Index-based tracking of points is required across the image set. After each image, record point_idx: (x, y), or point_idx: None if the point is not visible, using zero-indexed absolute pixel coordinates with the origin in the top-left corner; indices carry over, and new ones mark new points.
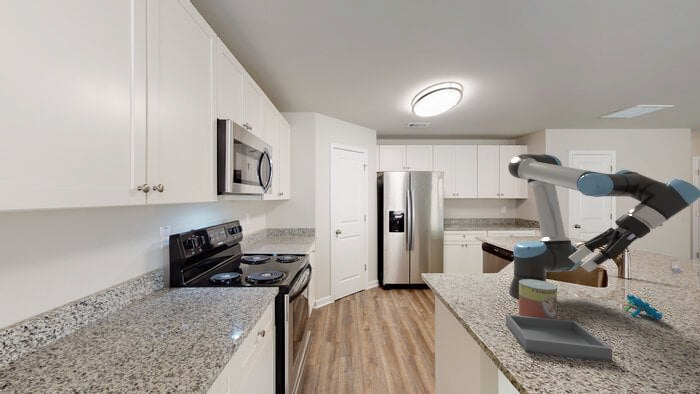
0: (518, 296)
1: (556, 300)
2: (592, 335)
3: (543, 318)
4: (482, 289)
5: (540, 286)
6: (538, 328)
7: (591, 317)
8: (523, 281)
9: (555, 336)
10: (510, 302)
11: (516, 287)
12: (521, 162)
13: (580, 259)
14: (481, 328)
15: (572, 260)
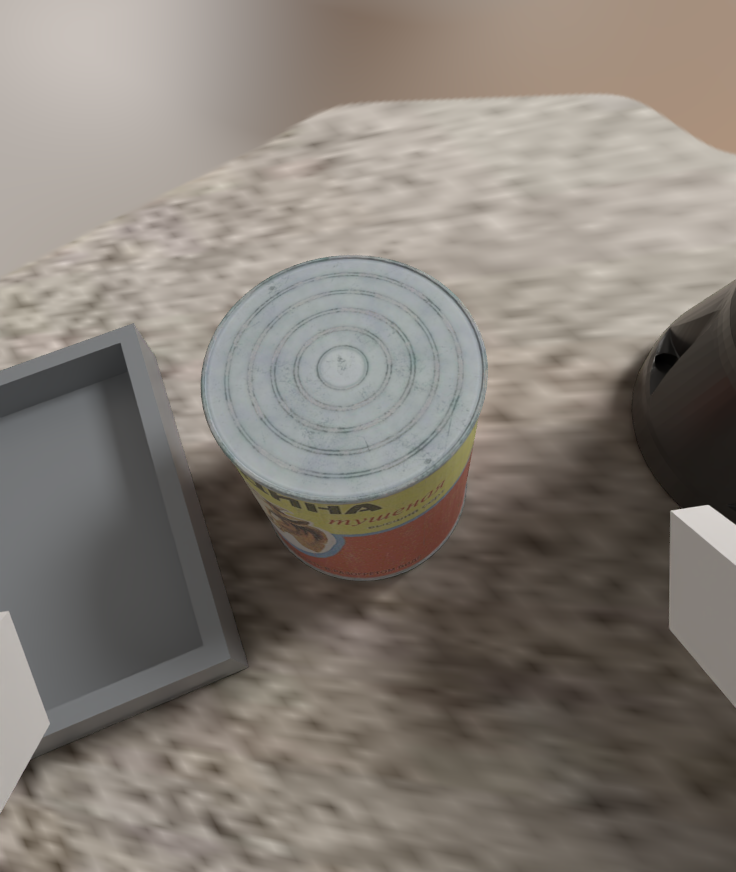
0: (645, 361)
1: (320, 532)
2: None
3: (171, 488)
4: (662, 187)
5: (281, 389)
6: (150, 484)
7: (618, 810)
8: (360, 281)
9: (83, 558)
10: (528, 340)
11: (689, 314)
12: None
13: (730, 691)
14: (59, 281)
15: (672, 574)
